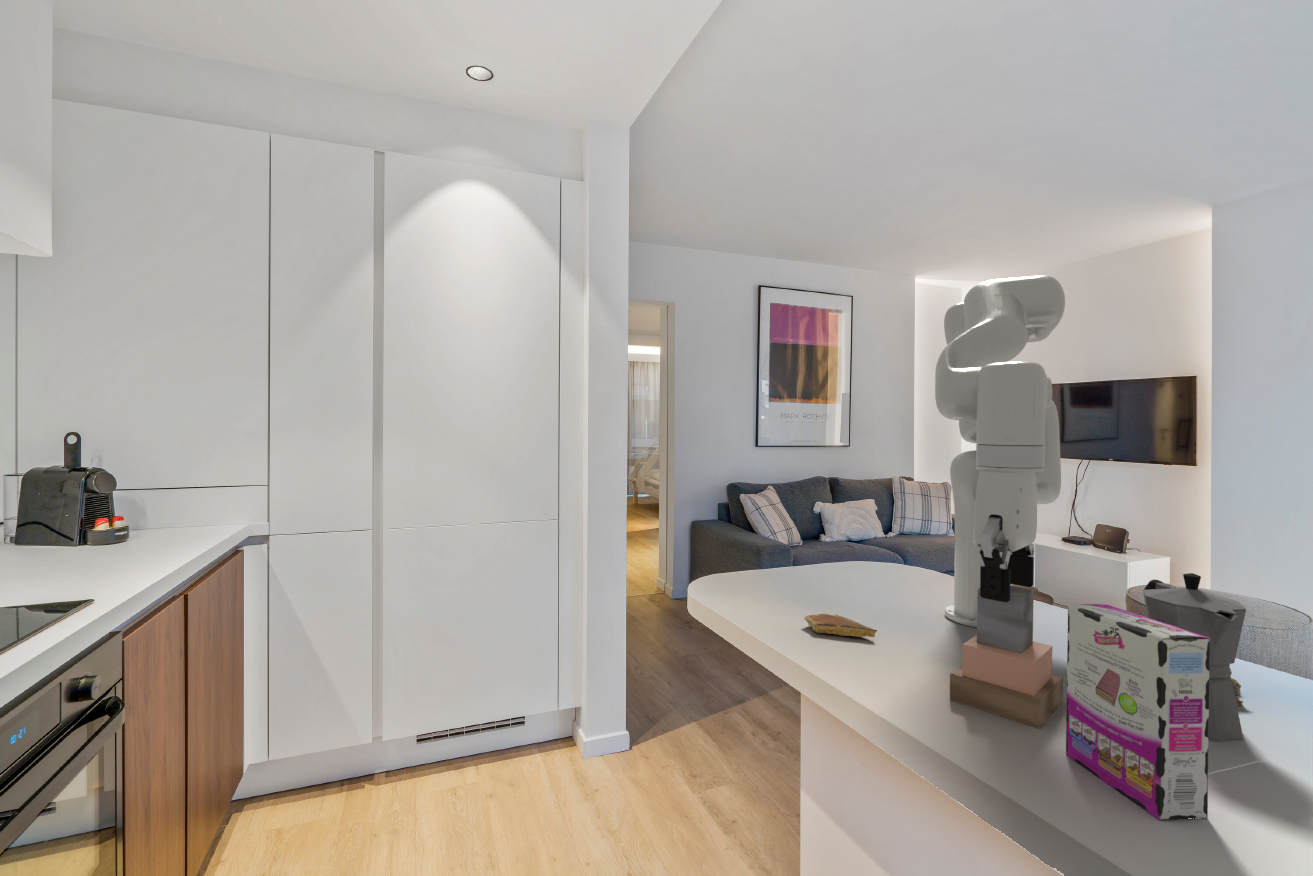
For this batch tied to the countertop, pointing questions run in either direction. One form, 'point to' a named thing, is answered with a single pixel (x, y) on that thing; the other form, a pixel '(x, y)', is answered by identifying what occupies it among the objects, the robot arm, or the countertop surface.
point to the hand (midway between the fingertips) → (1007, 591)
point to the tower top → (1008, 666)
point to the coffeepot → (1223, 629)
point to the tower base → (1008, 698)
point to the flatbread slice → (838, 625)
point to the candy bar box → (1139, 708)
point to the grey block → (1006, 621)
